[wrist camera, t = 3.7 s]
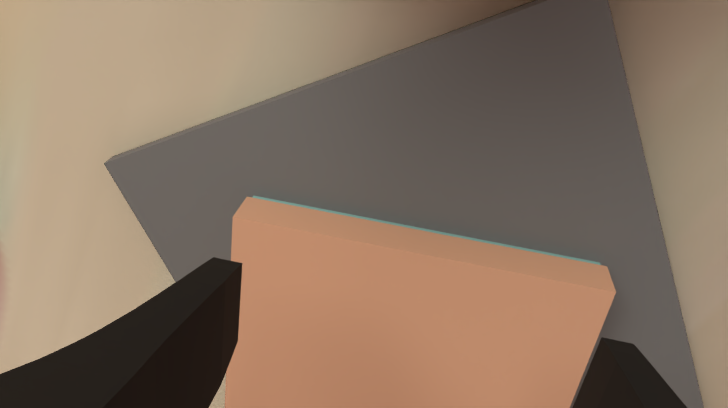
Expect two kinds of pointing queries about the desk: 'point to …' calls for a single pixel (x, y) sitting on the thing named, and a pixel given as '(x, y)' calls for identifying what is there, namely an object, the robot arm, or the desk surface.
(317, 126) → the mat
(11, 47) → the desk surface
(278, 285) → the tile
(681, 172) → the desk surface
